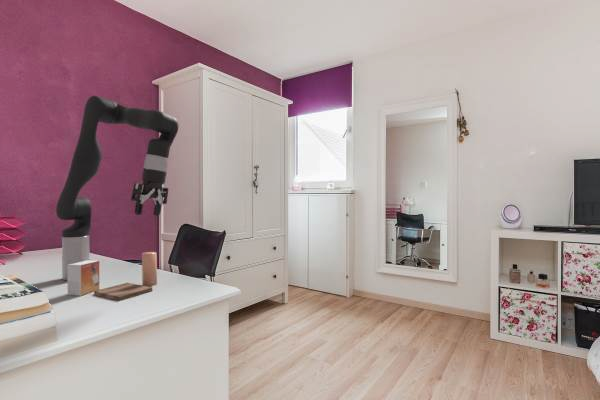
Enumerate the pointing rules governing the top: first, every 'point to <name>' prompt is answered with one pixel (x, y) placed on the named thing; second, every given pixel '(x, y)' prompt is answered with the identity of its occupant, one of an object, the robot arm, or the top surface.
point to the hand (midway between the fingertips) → (147, 215)
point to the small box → (83, 277)
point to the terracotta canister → (149, 268)
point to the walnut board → (123, 291)
